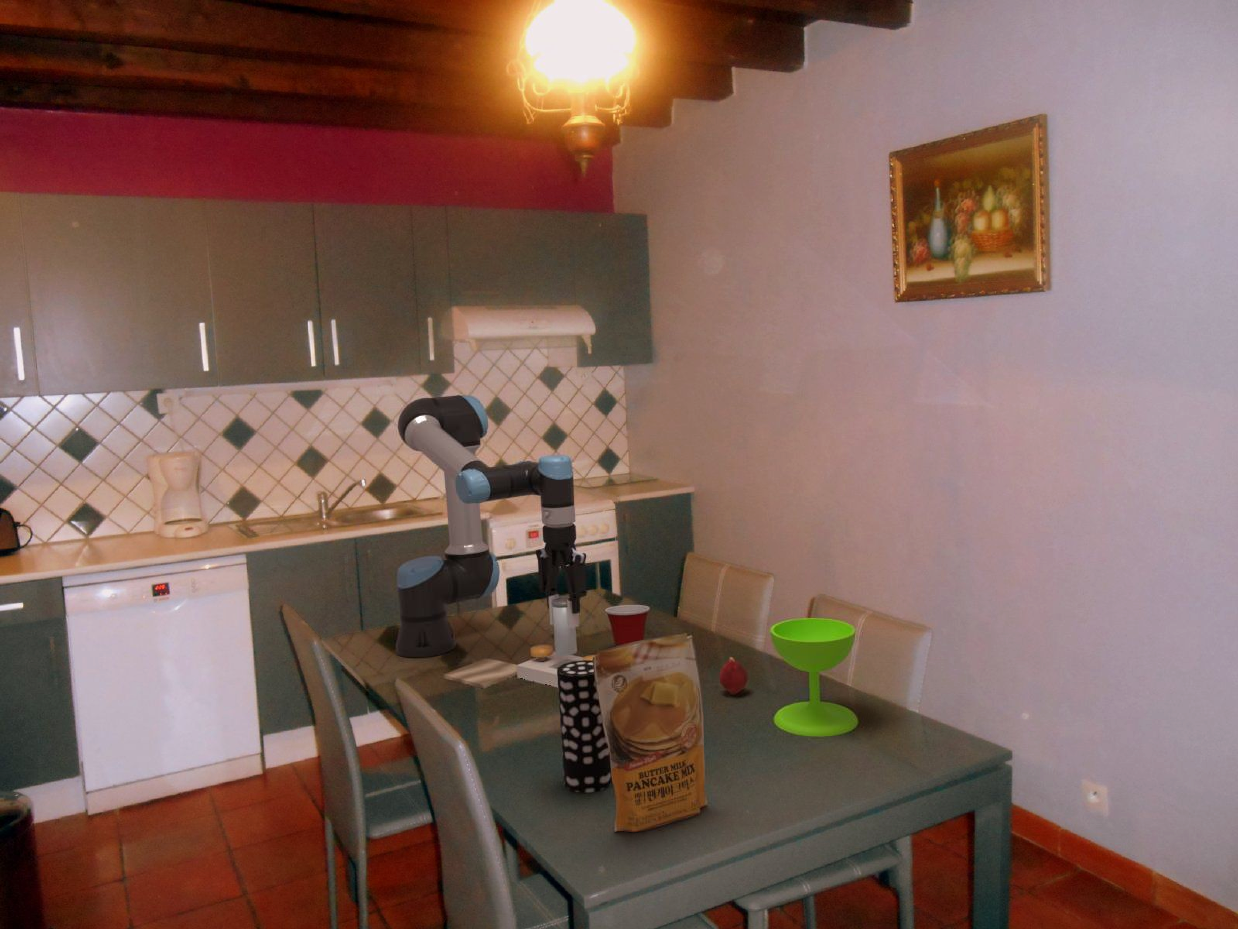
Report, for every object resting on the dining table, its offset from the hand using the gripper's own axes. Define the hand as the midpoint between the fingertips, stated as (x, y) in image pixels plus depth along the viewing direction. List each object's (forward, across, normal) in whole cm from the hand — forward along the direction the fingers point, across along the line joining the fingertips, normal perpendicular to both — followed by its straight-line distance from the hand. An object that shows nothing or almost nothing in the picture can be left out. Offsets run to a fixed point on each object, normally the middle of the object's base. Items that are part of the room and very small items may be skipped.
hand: (564, 625), depth 212 cm
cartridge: (+6, 0, 0) cm, 6 cm away
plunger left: (+11, -8, 0) cm, 13 cm away
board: (+13, -19, -8) cm, 24 cm away
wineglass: (+12, +59, +6) cm, 61 cm away
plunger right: (+11, +8, 0) cm, 14 cm away
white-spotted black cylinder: (+12, +39, -38) cm, 56 cm away
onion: (+12, +38, +10) cm, 41 cm away
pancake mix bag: (+12, +57, -41) cm, 71 cm away
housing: (+12, 0, 0) cm, 12 cm away
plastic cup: (+13, +2, +20) cm, 24 cm away
